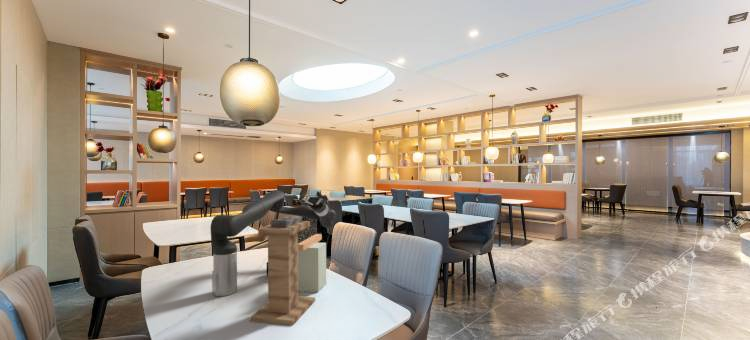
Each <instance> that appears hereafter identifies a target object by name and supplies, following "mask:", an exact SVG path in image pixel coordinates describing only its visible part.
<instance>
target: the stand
mask: <svg viewBox="0 0 750 340" xmlns="http://www.w3.org/2000/svg"><path fill="white" fill-rule="evenodd" d="M309 227H311V220H310V221H309V220H303V217H302V216H296V217H294V218H292V215H287V216H284V217H281V218H279V219H271V220H270V224H268V225H265V226H261V227H259V228H258V230H257V231H258V232H257V234H258V235H267V262H268V276H267V294H268V296H267V297H268V298H267V303H266V304H264V305H263V306H262V307H260V308H259V309H258V310H256V312H254V313H253V314H252V315H250V320H249V321H250V322H255V323H256V322H257V323H266V324H267V323H269V324H279V325H287V326H288V325H289V326H294V325H295V324H296V323H297V322H298V321H299V319H300V318H301V317H302V316H303V315H304V314H305V313H306V312H307V311H308V310H309V308H311V306H313V304H314V303H315V302H316V297H312V296H301V295H299V291H298V244H299V232H301V231H303V230H305V229H307V228H309Z"/></svg>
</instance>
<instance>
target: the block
mask: <svg viewBox="0 0 750 340" xmlns="http://www.w3.org/2000/svg"><path fill="white" fill-rule="evenodd" d="M322 239H323V236H322V233H315V234H314V235H311V236H309V237H308V238H307V239H304V240H303V241H301V242H300V241H299V242H298V251H304V250H306V249H307V248H309V247H310V246H312V245H314V244H315V243H317V242H320V241H321V240H322Z"/></svg>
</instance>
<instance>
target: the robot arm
mask: <svg viewBox="0 0 750 340" xmlns="http://www.w3.org/2000/svg"><path fill="white" fill-rule="evenodd" d="M315 195H316V196H311V195H310V194H305V193H304V192H303V191H300V193H299V198H298V200H299V202H301V204H303V205H299V206H291V207H288V206H287V207H286V206H284V204H285V201H286V194H285V193H284V192H283V191H281V190H278V189H277V190H272V191H269V192H268V193H266V194H265V195H264V196H262V197H260V198H258V199H256V200H254V201H252V202H249V203H247V204H246V205H245V206H244V207H243V208H242V210H241V213H238V214H233V215H232V214H217V215H215V216H214V217H213V218H212V220H211V224H210V241H211V243H210V244H211V249H212V253H213V255H212V256H213V258H212V259H213V260H212V261H213V265H212V266H213V270H212V271H211V282H212V283H211V287H212V289H211V293H212V294H213V295H214V297H224V296H225V297H226V296H230V295H233V294H235V293H237V291H238V246H237V244H236V243H234V242H232V241H230V240H229V239H228V238H233V237H235V236H238V235H239V234H240V233H241V232H243V231H245V230H244V229H246V228H247V227H249V226H250V225H252V224H254V223H256V222H258V221H259V220H261V219H262V218H264V217H266V215H267V214H268V213H269V212H273V213H277V214H284V215H287V216H296V217H299V216H302V218H304V219H307V220H310V221H316V222H317V221H318V220H319V222H320V224H321V226H322V227H323V228H326V229H330V228H332V227H334V225H335V221H336V218H337V213H336V211H335V210H333V209H330V208H329V206H328V205H329V197H328V196H327V195H326V194H322V193H321V192H320V191H316V194H315ZM306 203H307V204H308V205H306Z"/></svg>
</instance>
